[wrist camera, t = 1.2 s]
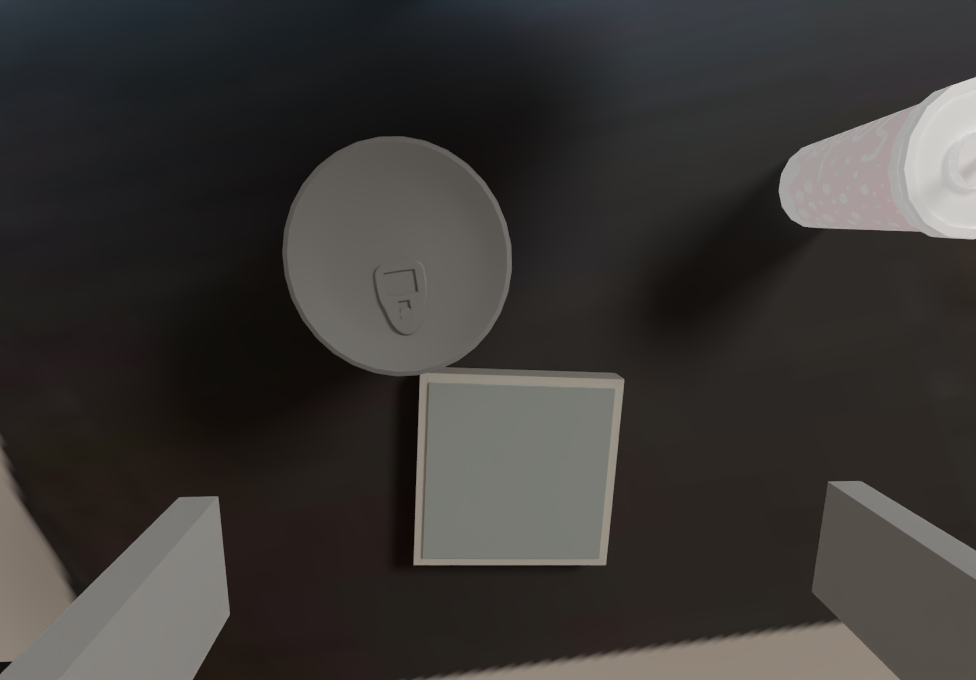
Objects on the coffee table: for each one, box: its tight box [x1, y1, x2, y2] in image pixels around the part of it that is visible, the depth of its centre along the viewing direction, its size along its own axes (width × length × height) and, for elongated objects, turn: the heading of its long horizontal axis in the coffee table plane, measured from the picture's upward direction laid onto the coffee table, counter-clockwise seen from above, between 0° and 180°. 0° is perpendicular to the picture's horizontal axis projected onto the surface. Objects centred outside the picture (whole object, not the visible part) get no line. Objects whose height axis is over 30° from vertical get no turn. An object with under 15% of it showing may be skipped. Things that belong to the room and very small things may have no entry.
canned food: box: [282, 136, 512, 376], centre depth 23 cm, size 8×8×11 cm
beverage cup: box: [779, 77, 976, 239], centre depth 23 cm, size 6×6×14 cm
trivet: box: [414, 367, 624, 565], centre depth 30 cm, size 11×11×2 cm
